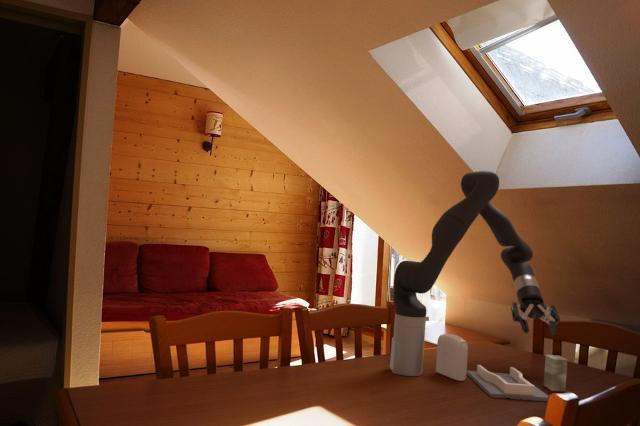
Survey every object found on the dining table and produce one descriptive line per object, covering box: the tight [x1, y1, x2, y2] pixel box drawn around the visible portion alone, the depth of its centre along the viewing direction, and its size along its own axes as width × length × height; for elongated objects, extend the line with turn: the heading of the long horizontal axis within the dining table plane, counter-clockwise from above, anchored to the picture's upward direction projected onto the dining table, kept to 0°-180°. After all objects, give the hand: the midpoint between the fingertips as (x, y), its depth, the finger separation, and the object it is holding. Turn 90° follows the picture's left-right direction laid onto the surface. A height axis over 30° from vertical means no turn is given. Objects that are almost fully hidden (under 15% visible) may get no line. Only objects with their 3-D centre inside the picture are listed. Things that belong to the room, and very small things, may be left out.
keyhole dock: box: [466, 364, 549, 402], centre depth 150 cm, size 16×22×4 cm
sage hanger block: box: [543, 354, 568, 392], centre depth 153 cm, size 4×5×9 cm
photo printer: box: [435, 333, 469, 382], centre depth 157 cm, size 10×4×12 cm, turn 29°
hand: (540, 333), depth 164 cm, fingers open, 8 cm apart
